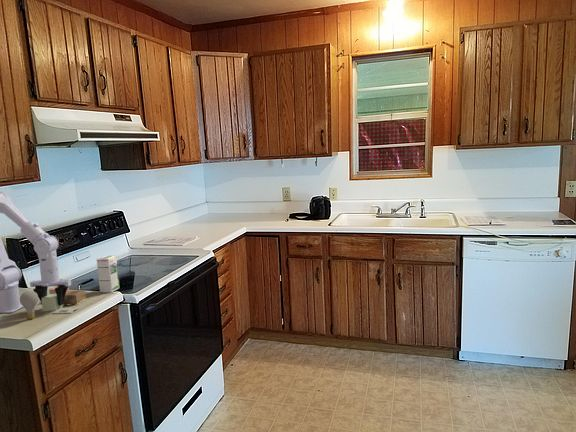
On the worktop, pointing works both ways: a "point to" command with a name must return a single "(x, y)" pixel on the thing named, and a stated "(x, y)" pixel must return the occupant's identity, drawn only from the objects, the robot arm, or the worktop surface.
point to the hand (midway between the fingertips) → (53, 305)
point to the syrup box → (108, 273)
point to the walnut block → (74, 297)
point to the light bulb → (29, 302)
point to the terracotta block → (52, 290)
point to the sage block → (50, 303)
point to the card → (63, 310)
